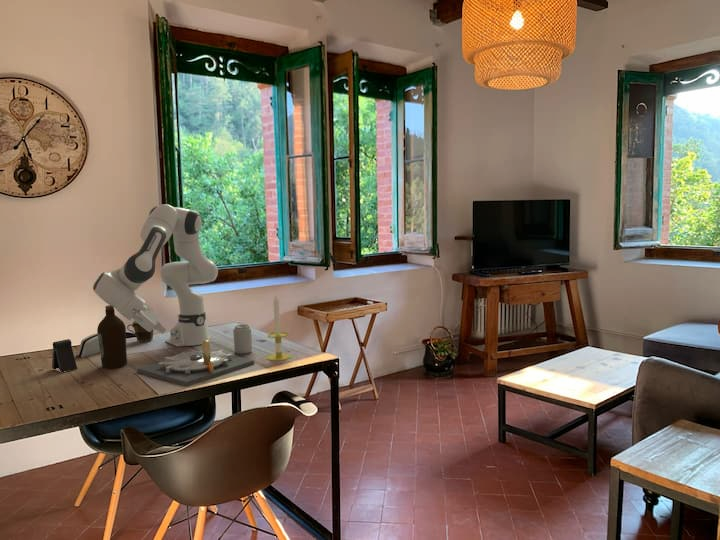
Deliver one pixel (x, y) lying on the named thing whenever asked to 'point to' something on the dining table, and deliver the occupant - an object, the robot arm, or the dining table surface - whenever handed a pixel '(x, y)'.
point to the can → (242, 339)
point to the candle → (278, 336)
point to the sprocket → (195, 360)
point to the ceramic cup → (141, 333)
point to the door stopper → (63, 356)
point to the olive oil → (112, 340)
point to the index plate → (194, 376)
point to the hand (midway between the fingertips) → (164, 331)
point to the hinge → (89, 346)
